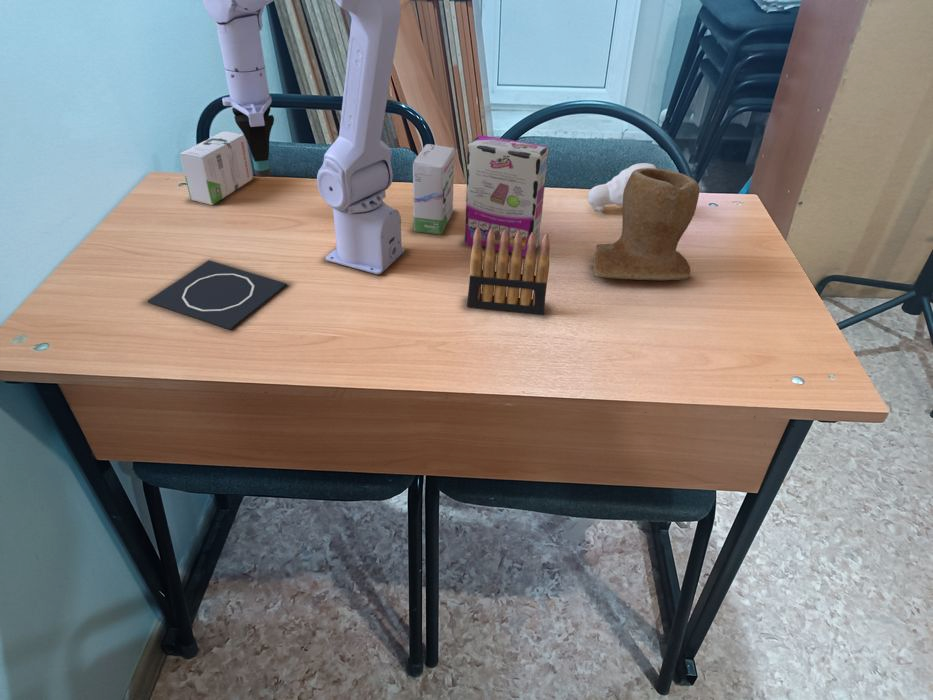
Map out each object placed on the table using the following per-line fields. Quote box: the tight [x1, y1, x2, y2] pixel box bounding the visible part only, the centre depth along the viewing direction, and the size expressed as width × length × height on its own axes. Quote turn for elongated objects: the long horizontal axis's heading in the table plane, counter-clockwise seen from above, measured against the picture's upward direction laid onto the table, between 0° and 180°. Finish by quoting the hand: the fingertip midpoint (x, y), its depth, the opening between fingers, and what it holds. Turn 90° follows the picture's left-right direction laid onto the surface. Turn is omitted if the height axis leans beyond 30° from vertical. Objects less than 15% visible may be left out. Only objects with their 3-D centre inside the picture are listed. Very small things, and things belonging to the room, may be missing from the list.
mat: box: [147, 260, 288, 331], centre depth 90 cm, size 14×12×1 cm
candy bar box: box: [464, 134, 550, 258], centre depth 99 cm, size 11×5×16 cm, turn 68°
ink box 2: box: [412, 143, 455, 235], centre depth 105 cm, size 8×5×12 cm, turn 168°
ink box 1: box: [179, 131, 254, 206], centre depth 113 cm, size 9×5×12 cm
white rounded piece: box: [587, 162, 657, 214], centre depth 112 cm, size 6×8×12 cm
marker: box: [251, 155, 272, 178], centre depth 102 cm, size 2×2×9 cm
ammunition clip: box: [466, 227, 551, 316], centre depth 86 cm, size 11×2×12 cm, turn 83°
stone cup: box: [592, 168, 701, 281], centre depth 95 cm, size 15×12×15 cm
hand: (260, 156), depth 103 cm, fingers closed on marker, 2 cm apart
